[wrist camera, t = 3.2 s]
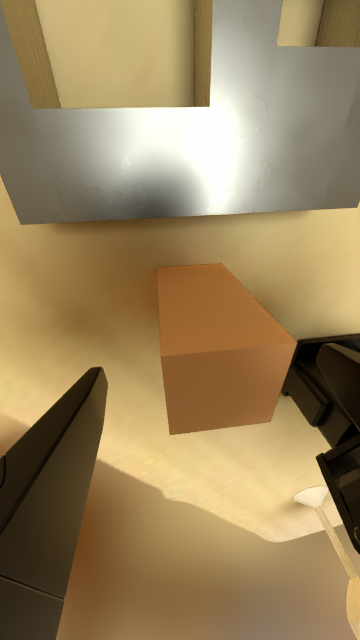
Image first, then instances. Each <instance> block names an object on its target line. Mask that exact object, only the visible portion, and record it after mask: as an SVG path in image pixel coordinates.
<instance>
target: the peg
mask: <svg viewBox="0 0 360 640" xmlns="http://www.w3.org/2000/svg"><path fill="white" fill-rule="evenodd" d="M157 284H158V305H159V326H160V347H161V362H162V370H163V379H164V388H165V397H166V406H167V414H168V423H169V432H170V435H175V434H182V433H190V432H197V431H205V430H213V429H220V428H228V427H236V426H243V425H251V424H258V423H266V422H270V421H271V418H272V415H273V412H274V410H275V407H276V404H277V401H278V398H279V395H280V392H281V389H282V386H283V383H284V380H285V377H286V374H287V371H288V369H289V366H290V363H291V360H292V357H293V354H294V351H295V348H296V345H297V342H296V341H295V340H294V339H293V338H292V337H291V336H290V334H289V333H288V332H287V331H286V330H285V329H284V328H283V327H282V326H281V325H280V324H279V323H278V322H277V321H276V320H275V319H274V318H273V317H272V316H271V315H270V314H269V313H268V312H267V310H266V309H265V308H264V307H263V306H262V305H261V304H260V303H259V302H258V301H257V300H256V299H255V298H254V297H253V296H252V295H251V294H250V293H249V292H248V291H247V290H246V289H245V288H244V287H243V285H242V284H241V283H240V282H239V281H238V280H237V279H236V278H235V277H234V276H233V275H232V274H231V273H230V272H229V271H228V270H227V269H226V268H225V267H224V266H223V265H222V264H221V263H216V264H202V265H187V266H173V267H158V268H157Z"/></svg>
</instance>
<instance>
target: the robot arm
mask: <svg viewBox="0 0 360 640" xmlns="http://www.w3.org/2000/svg"><path fill="white" fill-rule="evenodd" d="M107 388H108V383H107V379H106V376H105V373H104V370H103V368H102V367H92V368H90V369H89V370H88V371H87V372H86V373H85V374H84V375H83V376H82V377H81V378H80V379H79V380H78V381H77V382H76V383H75V384H74V385H73V386H72V387H71V388H70V389H69V390H68V391H67V392H66V393H65V394H64V395H63V396H62V397H61V398H60V399H59V400H58V401H57V402H56V403H55V404H54V405H53V406H52V407H51V408H50V409H49V410H48V411H47V412H46V413H45V414H44V415H43V416H42V417H41V418H40V419H39V420H38V421H37V422H36V423H35V424H34V425H33V426H32V427H31V428H30V429H29V430H28V431H27V432H26V433H25V434H24V435H23V436H22V437H21V438H20V439H19V440H18V441H17V442H16V443H15V444H14V445H13V446H12V447H11V448H10V449H9V450H8V451H7V452H6V455H3V456H2V457H1V458H0V640H56V636H57V632H58V627H59V622H60V618H61V614H62V609H63V605H64V598H65V595H66V591H67V586H68V582H69V577H70V573H71V568H72V564H73V559H74V555H75V550H76V546H77V541H78V537H79V533H80V528H81V524H82V519H83V515H84V510H85V505H86V501H87V497H88V492H89V488H90V483H91V479H92V475H93V470H94V466H95V460H96V457H97V452H98V448H99V443H100V439H101V434H102V430H103V424H104V416H105V407H106V397H107ZM281 393H282V394H283V396H291V397H292V399H293V400H294V402H295V403H296V405H297V406H298V408H299V409H300V411H301V412H302V413H303V415H304V416H305V418H306V419H307V421H308V422H309V424H310V425H311V426H312V427H318V429H319V430H320V432H321V433H322V435H323V436H324V437H325V439H326V440H327V442H328V443H329V445H330V446H331V448H332V449H331V450H329V451H327V452H326V453H321V454H319V455H318V456H316V460H317V462H318V465H319V467H320V469H321V472H322V475H323V477H324V479H325V482H326V484H327V486H328V489H329V491H330V493H331V496H332V498H333V500H334V503H335V505H336V507H337V510H338V512H339V514H340V517H341V519H342V521H343V524H344V525H345V528H346V530H347V533H348V535H349V537H350V540H351V542H352V544H353V546H354V548H355V550H356V551H357V552H358V553H359V554H360V335H351V336H342V337H332V338H322V339H312V340H303V341H300V342H298V343H297V345H296V348H295V351H294V354H293V357H292V360H291V363H290V366H289V369H288V371H287V374H286V377H285V380H284V383H283V386H282V389H281Z"/></svg>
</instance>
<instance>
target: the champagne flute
mask: <svg viewBox="0 0 360 640" xmlns="http://www.w3.org/2000/svg"><path fill="white" fill-rule="evenodd" d="M328 490H329V489H328V487H326V486H317V487H312V488H308V489H305V490H303V491H301V492H299V493H297V494H296V495H295V496H294V497H293V500H294V501H297V502H299V503H302V504H304V505H307V506H309V507H312V508H314V509H315V511H316V512H317V514H318V516H319V518H320V520H321V522H322V524H323V526H324V528H325V530H326V532H327V534H328V536H329V538H330V540H331V542H332V544H333V546H334V548H335V550H336V551H337V553H338V556H339V558H340V560H341V561H342V563H343V565H344V567H345V569H346V571H347V573H348V575H349V577H350V581H349V584H348V590H347V600H346V607H347V615H348V620H349V624H350V626H351V628H352V630H353V632H354V634H355V636H356V638H357V639H358V640H360V577H358V575H357V573H356V571H355V569H354V567H353V565H352V564H351V562H350V560H349V558H348V556H347V554H346V552H345V550H344V549H343V547H342V545H341V543H340V541H339V539H338V537H337V535H336V534H335V532H334V530H333V528H332V526H331V524H330V522H329V520H328V519H327V517H326V515H325V513H324V511H323V509H322V507H321V505H322V503H323V501H324V499H325V497H326V495H327V492H328Z"/></svg>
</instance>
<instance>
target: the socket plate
mask: <svg viewBox="0 0 360 640" xmlns="http://www.w3.org/2000/svg"><path fill="white" fill-rule="evenodd" d="M282 1H283V0H195V86H194V107H159V108H70V109H61V107H60V103H59V99H58V95H57V91H56V87H55V83H54V79H53V75H52V71H51V67H50V63H49V59H48V55H47V51H46V47H45V42H44V38H43V34H42V30H41V26H40V22H39V18H38V14H37V10H36V6H35V2H34V0H0V175H1V177H2V180H3V182H4V185H5V187H6V190H7V192H8V194H9V197H10V199H11V202H12V204H13V207H14V209H15V211H16V214H17V216H18V219H19V221H20V224H21V225H26V224H45V223H65V222H85V221H104V220H124V219H143V218H163V217H182V216H202V215H221V214H241V213H260V212H280V211H299V210H319V209H338V208H357V207H358V204H359V201H360V0H325V3H324V8H323V13H322V18H321V23H320V28H319V33H318V38H317V43H316V47H289V46H276V45H277V38H278V30H279V23H280V16H281V9H282Z"/></svg>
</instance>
